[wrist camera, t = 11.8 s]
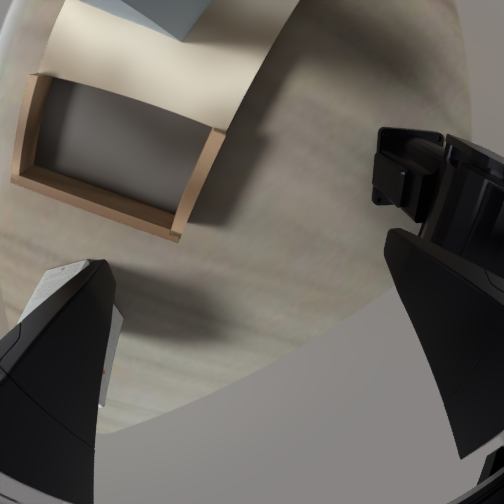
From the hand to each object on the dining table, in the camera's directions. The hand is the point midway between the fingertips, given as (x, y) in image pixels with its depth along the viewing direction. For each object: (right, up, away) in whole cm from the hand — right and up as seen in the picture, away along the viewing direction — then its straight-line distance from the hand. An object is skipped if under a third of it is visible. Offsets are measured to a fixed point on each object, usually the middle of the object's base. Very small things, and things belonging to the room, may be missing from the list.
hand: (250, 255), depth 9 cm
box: (-5, +16, +4) cm, 17 cm away
